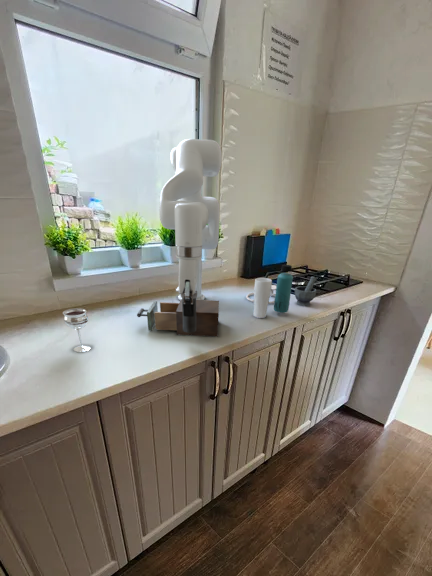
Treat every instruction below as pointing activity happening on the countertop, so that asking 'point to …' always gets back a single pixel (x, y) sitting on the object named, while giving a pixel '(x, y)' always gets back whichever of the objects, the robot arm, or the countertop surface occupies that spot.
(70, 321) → the wineglass
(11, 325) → the countertop surface
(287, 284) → the beverage bottle
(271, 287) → the hand towel holder
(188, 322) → the pepper mill
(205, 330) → the cabinet
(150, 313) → the drawer
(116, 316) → the countertop surface
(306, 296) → the mortar and pestle
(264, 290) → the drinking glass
